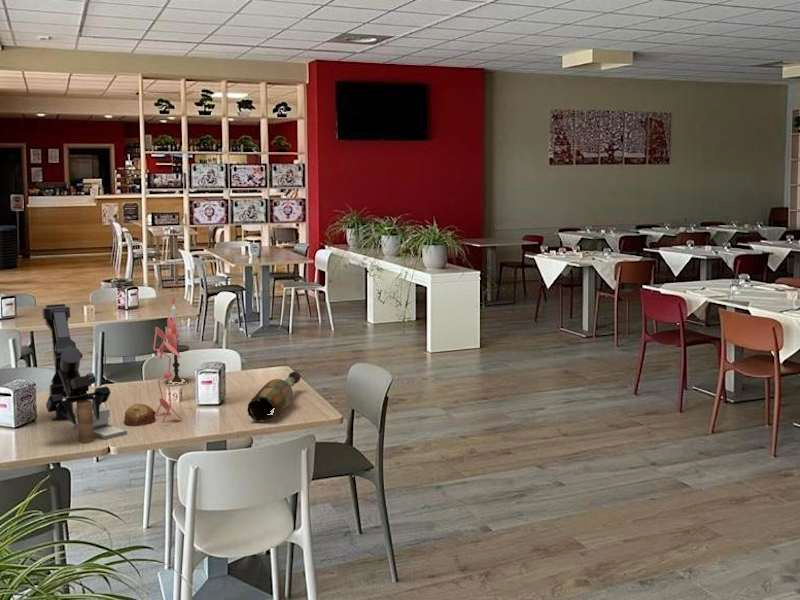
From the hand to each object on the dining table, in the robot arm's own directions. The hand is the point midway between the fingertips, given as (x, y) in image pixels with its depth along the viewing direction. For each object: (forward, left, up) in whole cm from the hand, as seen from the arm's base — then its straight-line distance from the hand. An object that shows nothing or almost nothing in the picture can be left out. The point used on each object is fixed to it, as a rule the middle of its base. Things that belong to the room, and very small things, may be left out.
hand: (86, 421), depth 268 cm
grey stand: (-12, 0, -7) cm, 14 cm away
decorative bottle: (-39, +56, -7) cm, 68 cm away
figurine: (-28, +22, -7) cm, 36 cm away
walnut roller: (-1, -1, -7) cm, 7 cm away
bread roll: (-22, +10, -7) cm, 25 cm away
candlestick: (-77, +11, -7) cm, 78 cm away
